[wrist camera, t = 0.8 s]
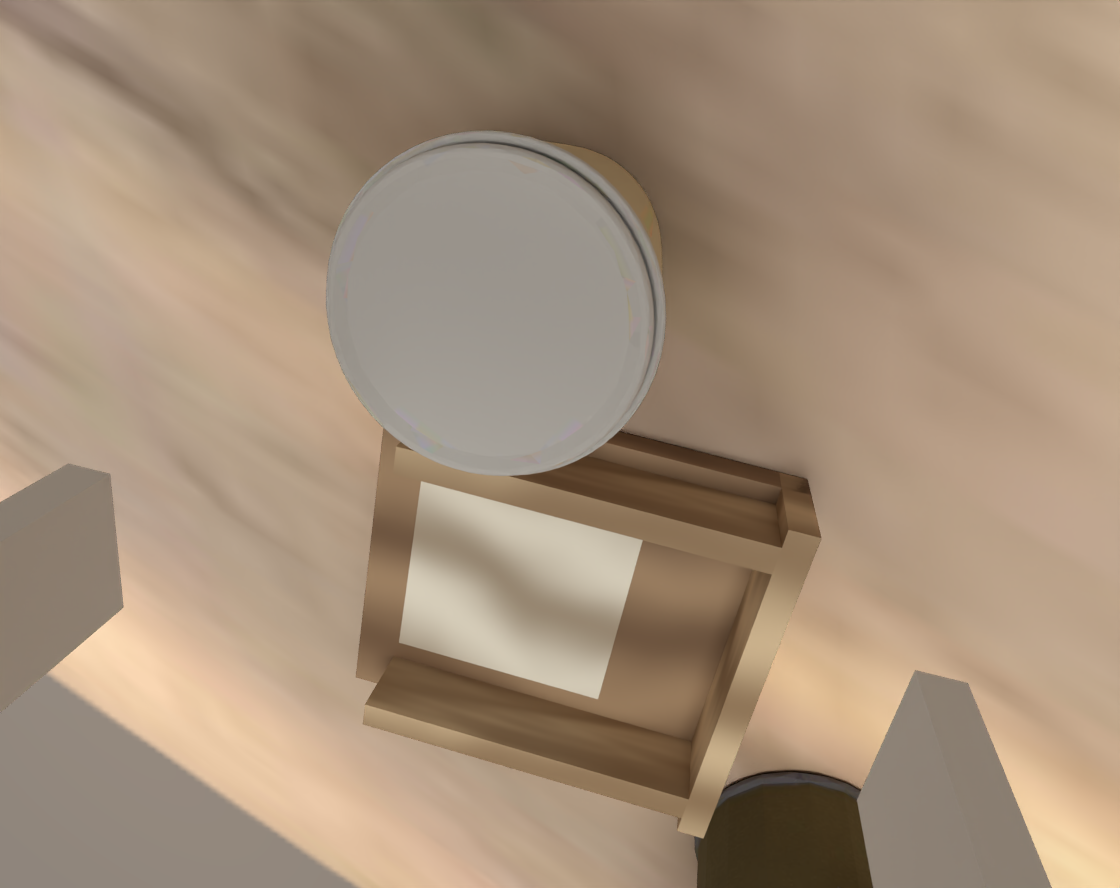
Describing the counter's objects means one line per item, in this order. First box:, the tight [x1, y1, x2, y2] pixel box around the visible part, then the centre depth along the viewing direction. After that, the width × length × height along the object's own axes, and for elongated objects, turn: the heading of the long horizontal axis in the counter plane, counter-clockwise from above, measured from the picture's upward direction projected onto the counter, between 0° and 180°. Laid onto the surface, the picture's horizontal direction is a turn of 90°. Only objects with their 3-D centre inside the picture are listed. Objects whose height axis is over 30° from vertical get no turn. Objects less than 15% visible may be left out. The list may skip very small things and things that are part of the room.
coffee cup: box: [326, 130, 666, 476], centre depth 26 cm, size 9×9×12 cm
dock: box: [356, 428, 821, 838], centre depth 35 cm, size 16×18×5 cm
